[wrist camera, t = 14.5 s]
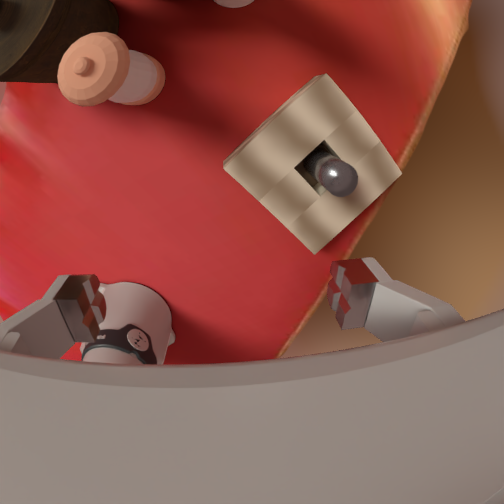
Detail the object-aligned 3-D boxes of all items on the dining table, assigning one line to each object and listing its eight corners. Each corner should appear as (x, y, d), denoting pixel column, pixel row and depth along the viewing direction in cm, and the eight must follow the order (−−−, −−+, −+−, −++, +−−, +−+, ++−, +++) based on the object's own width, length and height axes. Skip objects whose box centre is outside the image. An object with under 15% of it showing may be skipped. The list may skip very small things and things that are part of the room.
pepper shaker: (172, 61, 32) (134, 27, 15) (156, 109, 35) (105, 115, 18) (124, 52, 30) (58, 23, 14) (109, 100, 33) (34, 104, 17)
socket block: (305, 239, 47) (314, 254, 43) (223, 161, 40) (223, 168, 35) (385, 165, 42) (402, 173, 38) (314, 76, 35) (326, 73, 31)
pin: (317, 181, 41) (341, 203, 33) (297, 163, 40) (318, 181, 31) (335, 161, 40) (364, 179, 31) (316, 143, 39) (342, 155, 30)
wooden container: (41, 11, 23) (-47, -15, 4) (124, -14, 25) (60, -79, 6) (34, 92, 30) (-69, 106, 11) (116, 73, 32) (26, 56, 12)
